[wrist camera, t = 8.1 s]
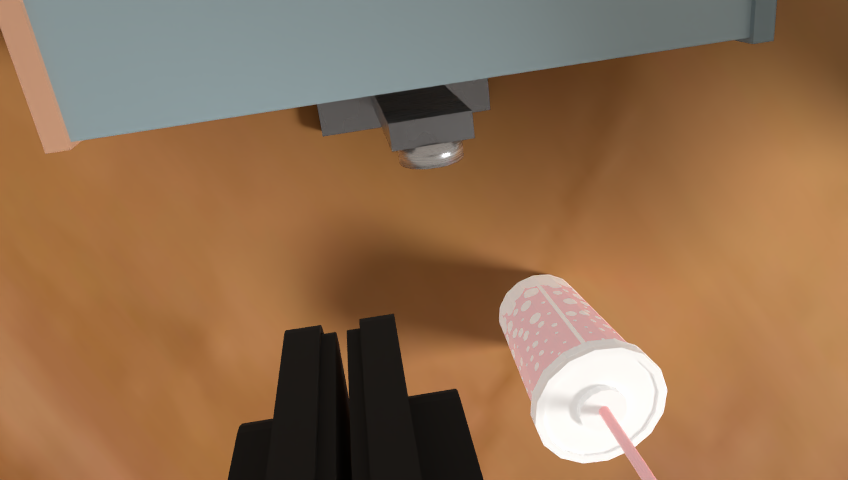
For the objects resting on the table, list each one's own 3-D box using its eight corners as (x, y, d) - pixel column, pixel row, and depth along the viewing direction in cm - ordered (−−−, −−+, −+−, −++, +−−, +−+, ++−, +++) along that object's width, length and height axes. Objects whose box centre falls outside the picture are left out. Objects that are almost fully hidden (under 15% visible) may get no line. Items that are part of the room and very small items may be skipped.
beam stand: (460, -178, 28) (524, -236, 20) (485, 105, 33) (545, 155, 25) (79, -133, 27) (-25, -175, 19) (162, 156, 32) (110, 228, 23)
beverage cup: (494, 369, 39) (585, 568, 26) (476, 277, 37) (567, 447, 24) (595, 342, 40) (733, 525, 27) (584, 249, 37) (730, 402, 24)
